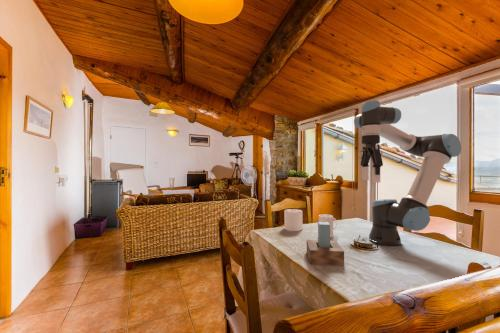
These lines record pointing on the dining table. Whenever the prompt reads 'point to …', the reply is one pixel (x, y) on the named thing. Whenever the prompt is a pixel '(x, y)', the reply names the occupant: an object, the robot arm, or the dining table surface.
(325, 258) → the socket
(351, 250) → the dining table surface
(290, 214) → the cup
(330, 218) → the mug
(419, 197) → the robot arm
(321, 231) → the peg
